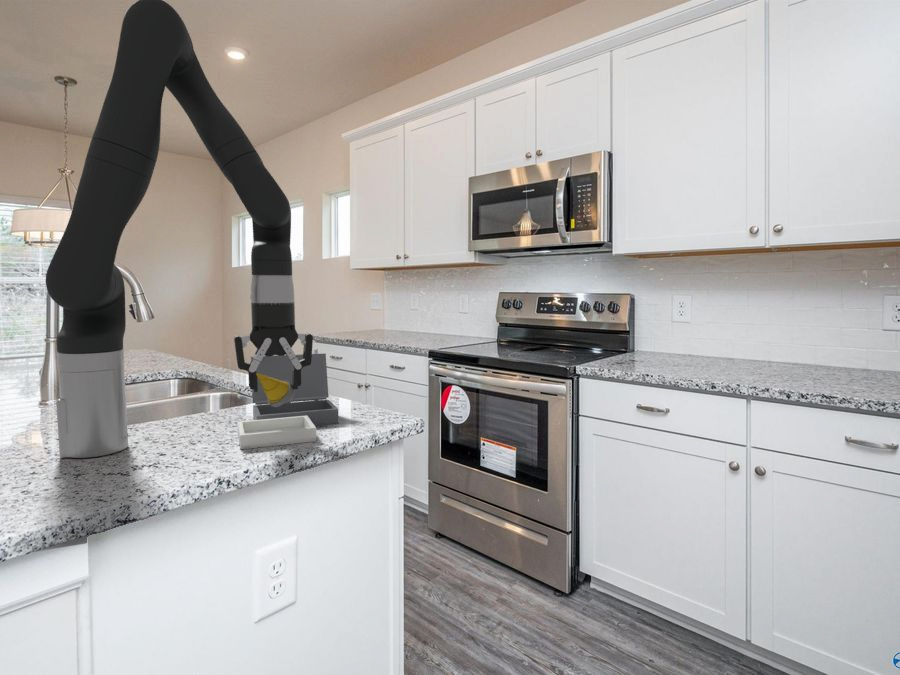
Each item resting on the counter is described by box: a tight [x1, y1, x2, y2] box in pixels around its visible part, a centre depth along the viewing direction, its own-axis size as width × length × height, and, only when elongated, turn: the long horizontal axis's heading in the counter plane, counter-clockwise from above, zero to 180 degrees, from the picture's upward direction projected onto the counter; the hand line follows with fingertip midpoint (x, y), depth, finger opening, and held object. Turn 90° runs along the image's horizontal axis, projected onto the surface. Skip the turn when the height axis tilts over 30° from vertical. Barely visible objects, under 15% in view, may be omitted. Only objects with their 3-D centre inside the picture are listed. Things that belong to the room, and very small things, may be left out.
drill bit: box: [256, 373, 296, 407], centre depth 97 cm, size 5×5×10 cm
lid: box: [250, 352, 329, 405], centre depth 115 cm, size 16×10×1 cm
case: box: [252, 399, 339, 427], centre depth 110 cm, size 16×10×3 cm, turn 114°
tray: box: [237, 415, 317, 450], centre depth 98 cm, size 13×10×2 cm
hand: (275, 389), depth 97 cm, fingers closed on drill bit, 6 cm apart
